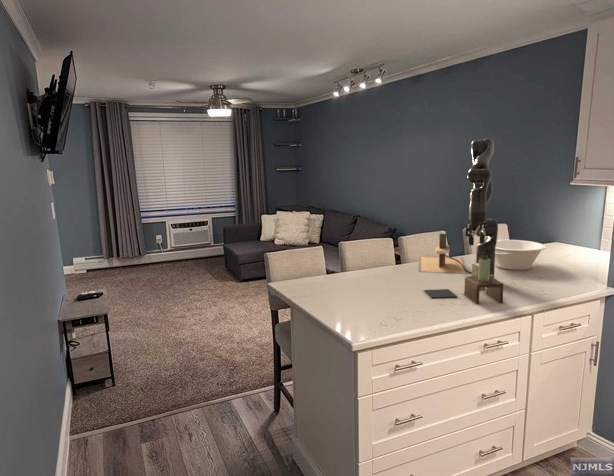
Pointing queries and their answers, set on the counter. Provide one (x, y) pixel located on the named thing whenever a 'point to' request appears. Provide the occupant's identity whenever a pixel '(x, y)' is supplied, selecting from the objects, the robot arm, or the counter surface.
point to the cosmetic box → (475, 270)
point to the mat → (440, 293)
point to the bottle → (484, 268)
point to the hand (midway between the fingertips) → (476, 244)
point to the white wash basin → (516, 254)
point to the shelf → (474, 287)
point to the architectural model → (442, 260)
